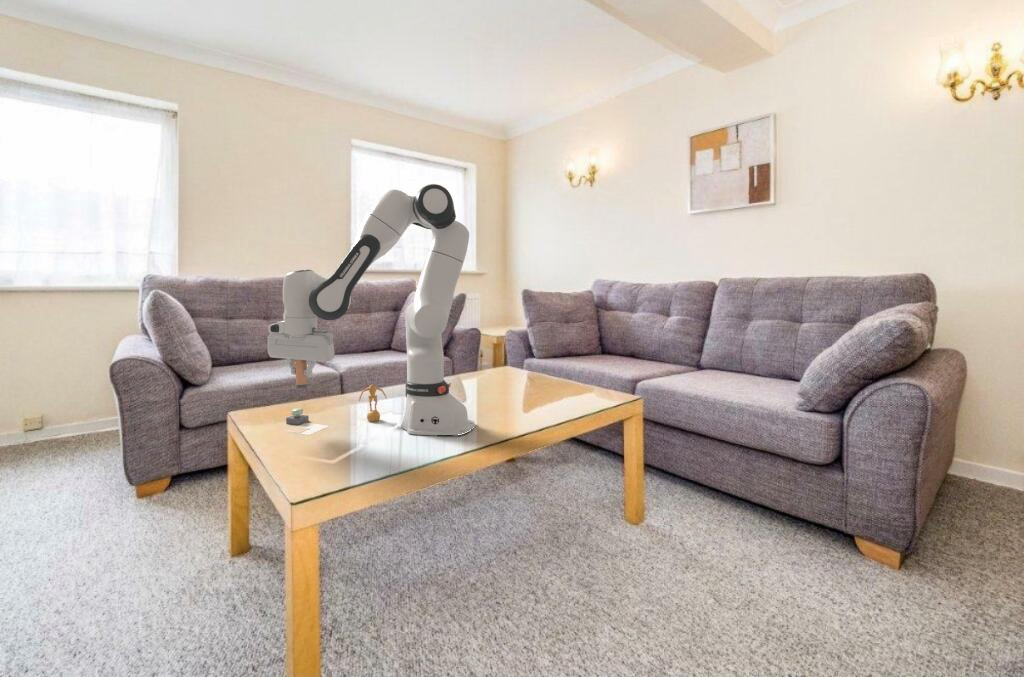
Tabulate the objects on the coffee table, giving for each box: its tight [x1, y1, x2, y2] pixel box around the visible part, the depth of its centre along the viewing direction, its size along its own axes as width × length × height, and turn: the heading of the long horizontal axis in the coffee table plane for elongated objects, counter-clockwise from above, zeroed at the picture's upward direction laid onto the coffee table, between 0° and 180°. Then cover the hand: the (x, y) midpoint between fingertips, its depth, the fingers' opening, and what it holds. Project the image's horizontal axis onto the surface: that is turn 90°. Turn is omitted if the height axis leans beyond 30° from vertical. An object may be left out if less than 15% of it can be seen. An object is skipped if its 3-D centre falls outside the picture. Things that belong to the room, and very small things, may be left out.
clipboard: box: [283, 414, 330, 436], centre depth 137 cm, size 14×12×2 cm
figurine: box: [358, 383, 387, 423], centre depth 146 cm, size 8×6×12 cm
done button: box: [290, 407, 304, 418], centre depth 142 cm, size 3×3×3 cm
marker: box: [295, 359, 308, 389], centre depth 133 cm, size 3×3×9 cm
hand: (301, 374), depth 133 cm, fingers closed on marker, 3 cm apart
